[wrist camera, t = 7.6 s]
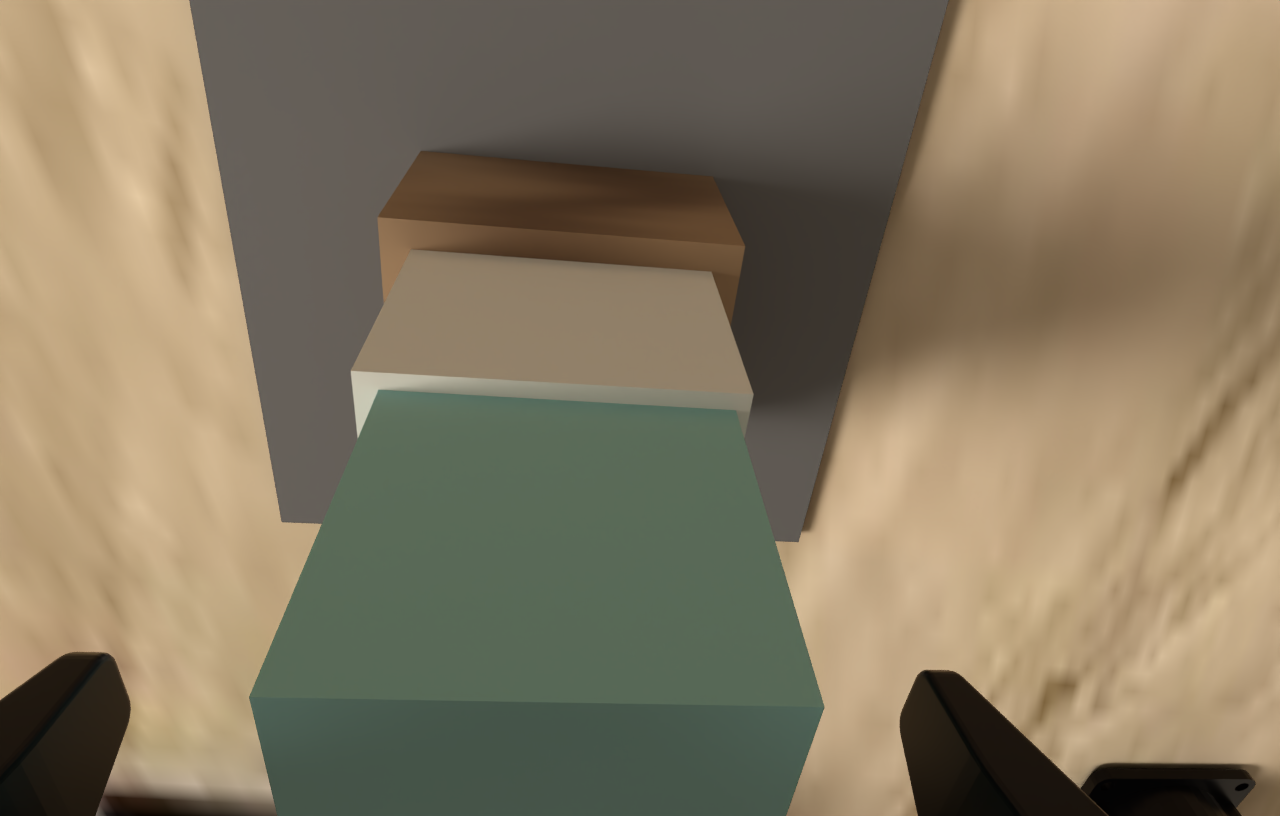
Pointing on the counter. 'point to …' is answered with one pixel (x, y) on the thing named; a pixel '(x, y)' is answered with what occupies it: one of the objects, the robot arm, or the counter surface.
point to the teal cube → (539, 622)
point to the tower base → (560, 216)
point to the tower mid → (552, 334)
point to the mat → (571, 134)
